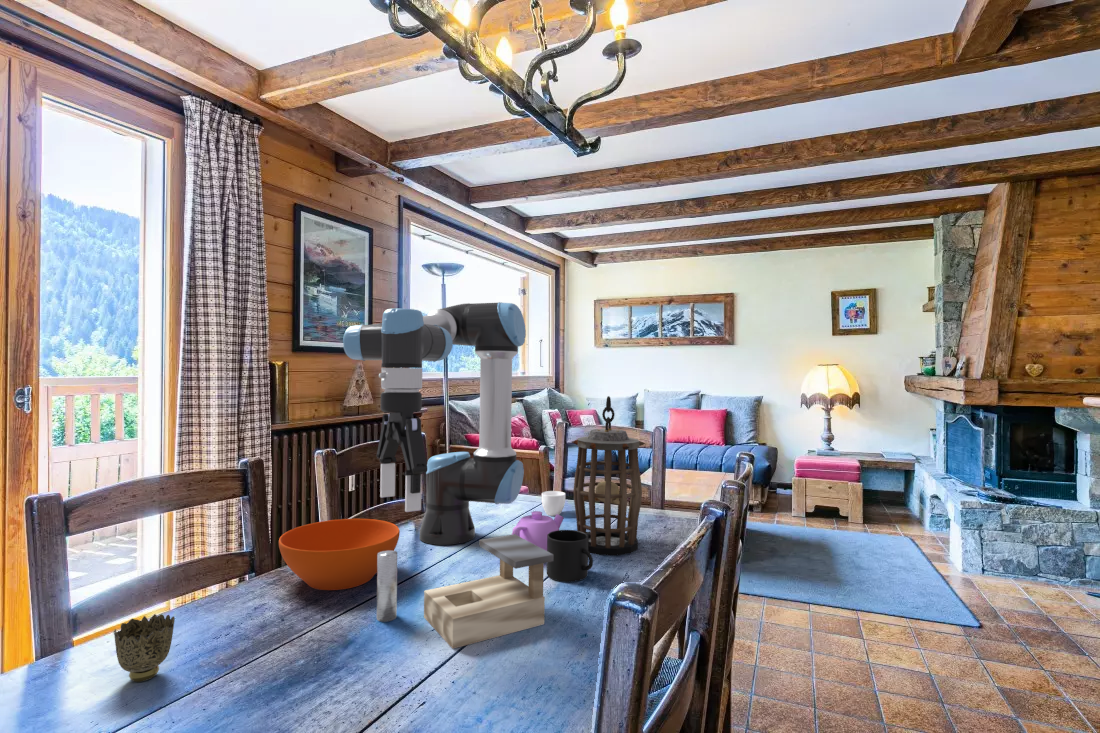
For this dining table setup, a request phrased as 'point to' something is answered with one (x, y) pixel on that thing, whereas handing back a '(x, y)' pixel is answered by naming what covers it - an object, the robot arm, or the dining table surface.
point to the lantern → (608, 489)
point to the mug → (568, 555)
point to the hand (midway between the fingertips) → (399, 503)
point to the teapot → (537, 528)
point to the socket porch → (491, 596)
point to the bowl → (337, 551)
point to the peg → (386, 585)
